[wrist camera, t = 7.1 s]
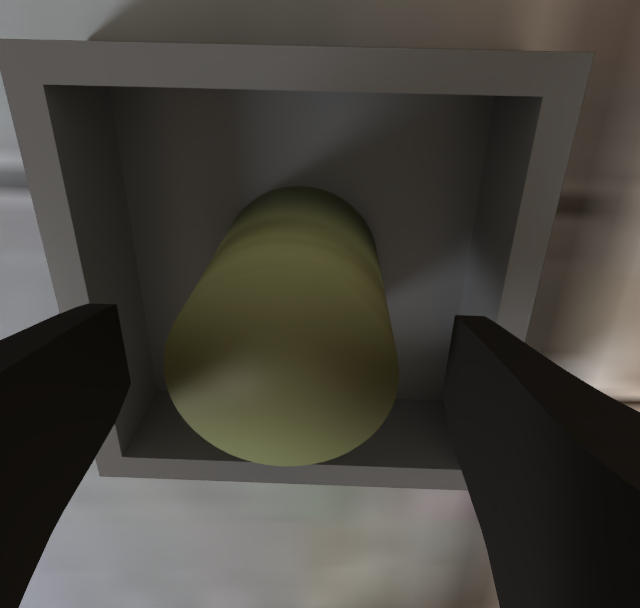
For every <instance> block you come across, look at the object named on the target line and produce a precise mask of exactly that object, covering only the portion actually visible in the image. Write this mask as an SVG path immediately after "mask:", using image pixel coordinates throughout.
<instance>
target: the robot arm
mask: <svg viewBox="0 0 640 608" xmlns="http://www.w3.org/2000/svg"><path fill="white" fill-rule="evenodd" d="M130 385H131V380H130V375H129V369H128V364H127V358H126V353H125V347H124V342H123V336H122V331H121V325H120V320H119V314H118V309H117V304H93V303H88V304H85V305H81V306H78V307H75V308H73V309H70V310H68V311H65V312H63V313H60V314H58V315H56V316H54V317H51V318H49V319H47V320H44V321H42V322H40V323H38V324H36V325H33V326H31V327H29V328H27V329H25V330H22V331H20V332H18V333H16V334H13V335H11V336H9V337H7V338H5V339H2V340H0V608H19V605H20V603H21V600H22V598H23V596H24V593H25V591H26V589H27V586H28V584H29V582H30V579H31V577H32V575H33V573H34V571H35V568H36V566H37V564H38V562H39V560H40V558H41V555H42V553H43V551H44V549H45V547H46V544H47V542H48V540H49V538H50V536H51V534H52V532H53V530H54V528H55V526H56V524H57V522H58V520H59V518H60V517H61V515H62V513H63V511H64V509H65V508H66V506H67V504H68V503H69V501H70V499H71V498H72V496H73V494H74V492H75V491H76V489H77V487H78V486H79V484H80V482H81V481H82V479H83V477H84V476H85V474H86V472H87V471H88V469H89V467H90V465H91V464H92V462H93V460H94V459H95V457H96V455H97V454H98V452H99V450H100V449H101V447H102V445H103V443H104V442H105V440H106V438H107V436H108V435H109V433H110V431H111V429H112V428H113V426H114V424H115V422H116V420H117V418H118V415H119V413H120V410H121V408H122V406H123V403H124V401H125V398H126V395H127V393H128V390H129V387H130ZM442 396H443V402H444V407H445V413H446V419H447V424H448V429H449V434H450V437H451V440H452V443H453V446H454V449H455V453H456V456H457V459H458V462H459V465H460V468H461V471H462V474H463V477H464V479H465V482H466V485H467V488H468V491H469V494H470V497H471V500H472V503H473V506H474V509H475V512H476V515H477V518H478V521H479V524H480V527H481V530H482V534H483V537H484V540H485V544H486V547H487V551H488V555H489V560H490V564H491V569H492V573H493V578H494V582H495V587H496V591H497V596H498V600H499V605H500V608H640V412H638V411H636V410H634V409H632V408H630V407H628V406H626V405H624V404H622V403H620V402H618V401H617V400H615V399H613V398H611V397H609V396H607V395H606V394H604V393H602V392H600V391H599V390H597V389H595V388H594V387H592V386H590V385H589V384H587V383H585V382H584V381H582V380H580V379H579V378H577V377H575V376H574V375H572V374H570V373H569V372H567V371H566V370H564V369H563V368H561V367H560V366H558V365H557V364H555V363H553V362H552V361H551V360H549V359H548V358H546V357H545V356H543V355H542V354H540V353H539V352H537V351H536V350H534V349H533V348H531V347H530V346H529V345H527V344H526V343H524V342H523V341H521V340H520V339H519V338H517V337H516V336H514V335H513V334H511V333H510V332H509V331H507V330H506V329H504V328H503V327H501V326H500V325H498V324H497V323H495V322H494V321H492V320H491V319H489V318H487V317H485V316H469V315H455V318H454V324H453V330H452V336H451V343H450V349H449V355H448V361H447V367H446V374H445V380H444V386H443V392H442Z"/></svg>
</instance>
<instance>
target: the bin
mask: <svg viewBox="0 0 640 608" xmlns="http://www.w3.org/2000/svg"><path fill="white" fill-rule="evenodd" d="M594 53H595V52H553V51H509V50H465V49H422V48H378V47H335V46H291V45H247V44H204V43H160V42H117V41H73V40H29V39H0V70H1V74H2V78H3V83H4V87H5V91H6V95H7V99H8V103H9V107H10V111H11V115H12V119H13V123H14V128H15V132H16V136H17V140H18V144H19V148H20V152H21V156H22V160H23V164H24V168H25V173H26V177H27V181H28V185H29V189H30V193H31V197H32V201H33V205H34V209H35V213H36V218H37V222H38V226H39V230H40V234H41V238H42V242H43V246H44V250H45V254H46V258H47V263H48V267H49V271H50V275H51V279H52V283H53V287H54V291H55V295H56V299H57V303H58V308H59V312H60V313H63V312H65V311H68V310H70V309H73V308H75V307H78V306H81V305H85V304H88V303H93V304H117V309H118V314H119V320H120V325H121V331H122V336H123V342H124V347H125V353H126V358H127V364H128V369H129V375H130V380H131V385H130V387H129V390H128V393H127V395H126V398H125V401H124V403H123V406H122V408H121V410H120V413H119V415H118V418H117V420H116V422H115V424H114V426H113V428H112V429H111V431H110V433H109V435H108V436H107V438H106V440H105V442H104V443H103V445H102V447H101V449H100V450H99V452H98V454H97V455H96V457H95V459H96V463H97V467H98V471H99V475H100V476H106V477H132V478H158V479H184V480H210V481H236V482H262V483H288V484H314V485H340V486H366V487H392V488H418V489H444V490H468V488H467V485H466V482H465V479H464V477H463V474H462V471H461V468H460V465H459V462H458V459H457V456H456V453H455V449H454V446H453V443H452V440H451V437H450V434H449V429H448V424H447V419H446V413H445V407H444V402H443V396H442V392H443V386H444V380H445V374H446V367H447V361H448V355H449V349H450V343H451V336H452V330H453V324H454V318H455V315H469V316H485V317H487V318H489V319H491V320H492V321H494V322H495V323H497V324H498V325H500V326H501V327H503V328H504V329H506V330H507V331H509V332H510V333H511V334H513V335H514V336H516V337H517V338H519V339H520V340H521V341H523V342H524V343H525V339H526V335H527V331H528V327H529V323H530V319H531V314H532V310H533V306H534V302H535V298H536V294H537V289H538V285H539V281H540V277H541V273H542V269H543V265H544V260H545V256H546V252H547V248H548V244H549V240H550V236H551V231H552V227H553V223H554V219H555V215H556V211H557V207H558V202H559V198H560V194H561V190H562V186H563V182H564V178H565V173H566V169H567V165H568V161H569V157H570V153H571V148H572V144H573V140H574V136H575V132H576V128H577V124H578V119H579V115H580V111H581V107H582V103H583V99H584V95H585V90H586V86H587V82H588V78H589V74H590V70H591V66H592V61H593V57H594ZM292 186H305V187H313V188H318V189H322V190H325V191H327V192H330V193H333V194H335V195H336V196H338V197H340V198H342V199H343V200H345V201H346V202H348V203H349V204H350V205H351V206H352V207H354V208H355V209H356V210H357V211H358V212H359V214H360V215H361V216H362V217H363V218H364V220H365V221H366V223H367V225H368V226H369V228H370V230H371V233H372V235H373V238H374V241H375V245H376V249H377V254H378V260H379V265H380V270H381V275H382V280H383V285H384V290H385V295H386V300H387V306H388V311H389V316H390V321H391V326H392V331H393V336H394V341H395V346H396V351H397V357H398V364H399V385H398V390H397V395H396V398H395V401H394V404H393V407H392V409H391V410H390V412H389V414H388V416H387V418H386V419H385V421H384V422H383V423H382V425H381V426H380V427H379V429H378V430H377V431H376V432H375V433H374V434H373V435H372V436H371V437H370V438H368V439H367V440H366V441H365V442H363V443H362V444H361V445H359V446H358V447H356V448H354V449H353V450H351V451H349V452H348V453H345V454H343V455H341V456H339V457H337V458H334V459H331V460H328V461H325V462H320V463H316V464H311V465H303V466H272V465H265V464H260V463H255V462H251V461H248V460H244V459H241V458H238V457H236V456H233V455H231V454H228V453H227V452H225V451H223V450H221V449H219V448H217V447H215V446H214V445H212V444H211V443H209V442H208V441H206V440H205V439H204V438H202V437H201V436H200V435H199V434H198V433H196V432H195V431H194V430H193V429H192V428H191V427H190V425H189V424H188V423H187V422H186V421H185V420H184V419H183V417H182V416H181V414H180V413H179V412H178V410H177V408H176V407H175V405H174V403H173V401H172V399H171V397H170V394H169V392H168V389H167V386H166V381H165V377H164V366H163V360H164V349H165V345H166V341H167V338H168V335H169V333H170V330H171V328H172V326H173V324H174V322H175V321H176V319H177V317H178V315H179V314H180V312H181V310H182V309H183V307H184V305H185V304H186V302H187V300H188V298H189V297H190V295H191V293H192V292H193V290H194V288H195V287H196V285H197V283H198V281H199V280H200V278H201V276H202V275H203V273H204V271H205V270H206V268H207V266H208V265H209V263H210V261H211V259H212V258H213V256H214V254H215V253H216V251H217V249H218V248H219V246H220V244H221V242H222V241H223V239H224V237H225V236H226V234H227V232H228V231H229V229H230V227H231V226H232V224H233V222H234V221H235V219H236V218H237V216H238V215H239V214H240V212H241V211H242V210H243V209H244V208H245V207H246V206H247V205H248V204H249V203H251V202H252V201H253V200H255V199H256V198H258V197H259V196H261V195H263V194H265V193H268V192H270V191H273V190H276V189H279V188H285V187H292Z"/></svg>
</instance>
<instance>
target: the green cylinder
mask: <svg viewBox="0 0 640 608" xmlns="http://www.w3.org/2000/svg"><path fill="white" fill-rule="evenodd" d="M163 366H164V377H165V381H166V386H167V389H168V392H169V394H170V397H171V399H172V401H173V403H174V405H175V407H176V408H177V410H178V412H179V413H180V414H181V416H182V417H183V419H184V420H185V421H186V422H187V423H188V424H189V425H190V427H191V428H192V429H193V430H194V431H195V432H196V433H198V434H199V435H200V436H201V437H202V438H204V439H205V440H206V441H208V442H209V443H211V444H212V445H214V446H215V447H217V448H219V449H221V450H223V451H225V452H227V453H228V454H231V455H233V456H236V457H238V458H241V459H244V460H248V461H251V462H255V463H260V464H265V465H272V466H303V465H311V464H316V463H320V462H325V461H328V460H331V459H334V458H337V457H339V456H341V455H343V454H345V453H348V452H349V451H351V450H353V449H354V448H356V447H358V446H359V445H361V444H362V443H363V442H365V441H366V440H367V439H368V438H370V437H371V436H372V435H373V434H374V433H375V432H376V431H377V430H378V429H379V427H380V426H381V425H382V423H383V422H384V421H385V419H386V418H387V416H388V414H389V412H390V410H391V409H392V407H393V404H394V401H395V398H396V395H397V390H398V385H399V364H398V357H397V351H396V346H395V341H394V336H393V331H392V326H391V321H390V316H389V311H388V306H387V300H386V295H385V290H384V285H383V280H382V275H381V270H380V265H379V260H378V254H377V249H376V245H375V241H374V238H373V235H372V233H371V230H370V228H369V226H368V225H367V223H366V221H365V220H364V218H363V217H362V216H361V215H360V214H359V212H358V211H357V210H356V209H355V208H354V207H352V206H351V205H350V204H349V203H348V202H346V201H345V200H343V199H342V198H340V197H338V196H336V195H335V194H333V193H330V192H327V191H325V190H322V189H318V188H313V187H305V186H292V187H285V188H279V189H276V190H273V191H270V192H268V193H265V194H263V195H261V196H259V197H258V198H256V199H255V200H253V201H252V202H251V203H249V204H248V205H247V206H246V207H245V208H244V209H243V210H242V211H241V212H240V214H239V215H238V216H237V218H236V219H235V221H234V222H233V224H232V226H231V227H230V229H229V231H228V232H227V234H226V236H225V237H224V239H223V241H222V242H221V244H220V246H219V248H218V249H217V251H216V253H215V254H214V256H213V258H212V259H211V261H210V263H209V265H208V266H207V268H206V270H205V271H204V273H203V275H202V276H201V278H200V280H199V281H198V283H197V285H196V287H195V288H194V290H193V292H192V293H191V295H190V297H189V298H188V300H187V302H186V304H185V305H184V307H183V309H182V310H181V312H180V314H179V315H178V317H177V319H176V321H175V322H174V324H173V326H172V328H171V330H170V333H169V335H168V338H167V341H166V345H165V349H164V360H163Z"/></svg>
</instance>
